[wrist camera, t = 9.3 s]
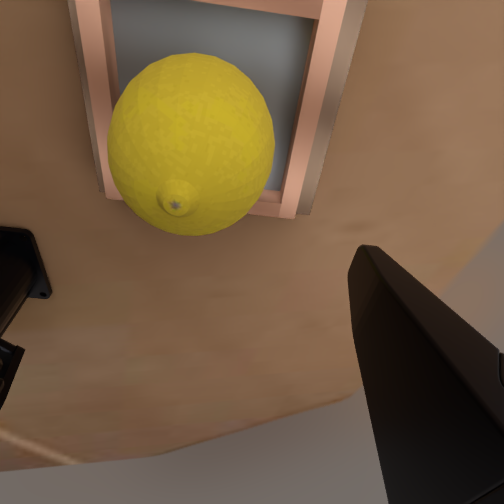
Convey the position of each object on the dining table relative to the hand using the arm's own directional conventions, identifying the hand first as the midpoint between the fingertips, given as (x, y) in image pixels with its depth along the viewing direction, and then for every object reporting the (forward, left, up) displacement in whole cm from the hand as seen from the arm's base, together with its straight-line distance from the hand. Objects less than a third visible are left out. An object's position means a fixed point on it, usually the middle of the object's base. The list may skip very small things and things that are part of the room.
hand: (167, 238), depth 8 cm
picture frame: (0, 0, -13) cm, 13 cm away
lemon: (0, 0, -10) cm, 10 cm away
